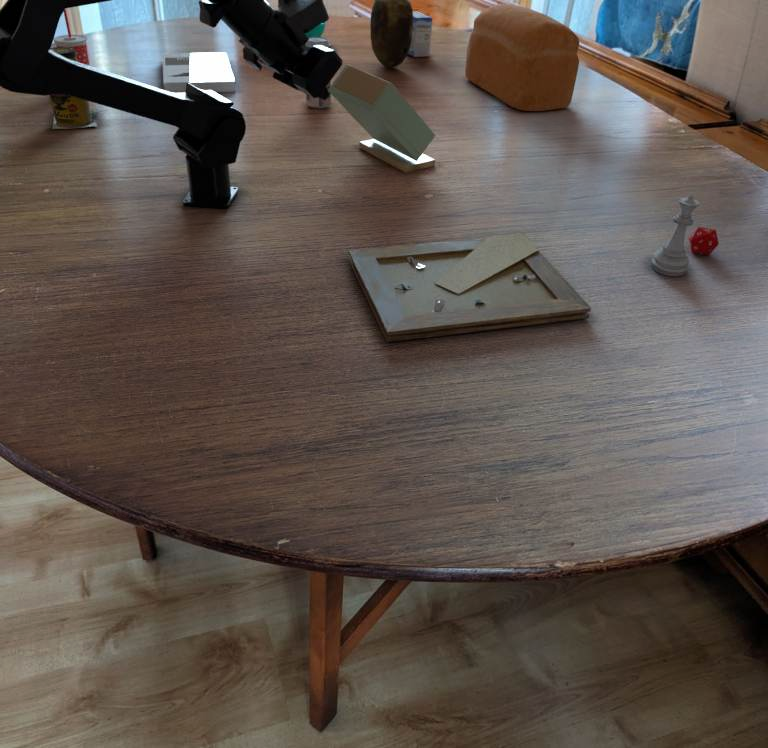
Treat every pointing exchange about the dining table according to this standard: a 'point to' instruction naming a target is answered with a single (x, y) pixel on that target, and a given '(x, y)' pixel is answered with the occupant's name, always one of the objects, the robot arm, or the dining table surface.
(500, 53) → the bread
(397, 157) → the shelf foot
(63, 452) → the dining table surface
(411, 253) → the picture frame
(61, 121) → the condiment
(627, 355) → the dining table surface
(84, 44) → the beverage cup
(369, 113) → the green rectangular box
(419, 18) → the medicine box
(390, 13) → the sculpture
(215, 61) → the book
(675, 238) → the chess piece
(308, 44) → the beer can
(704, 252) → the die
